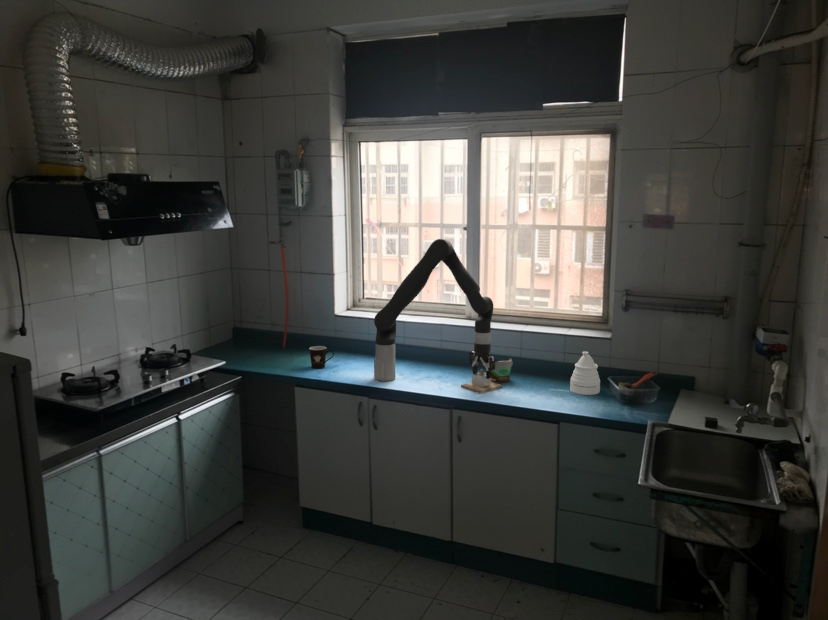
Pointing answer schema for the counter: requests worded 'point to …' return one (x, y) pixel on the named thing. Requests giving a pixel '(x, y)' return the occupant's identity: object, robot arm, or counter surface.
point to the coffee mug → (318, 356)
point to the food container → (501, 371)
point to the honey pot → (585, 376)
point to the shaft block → (478, 389)
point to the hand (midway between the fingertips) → (481, 376)
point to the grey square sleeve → (480, 380)
